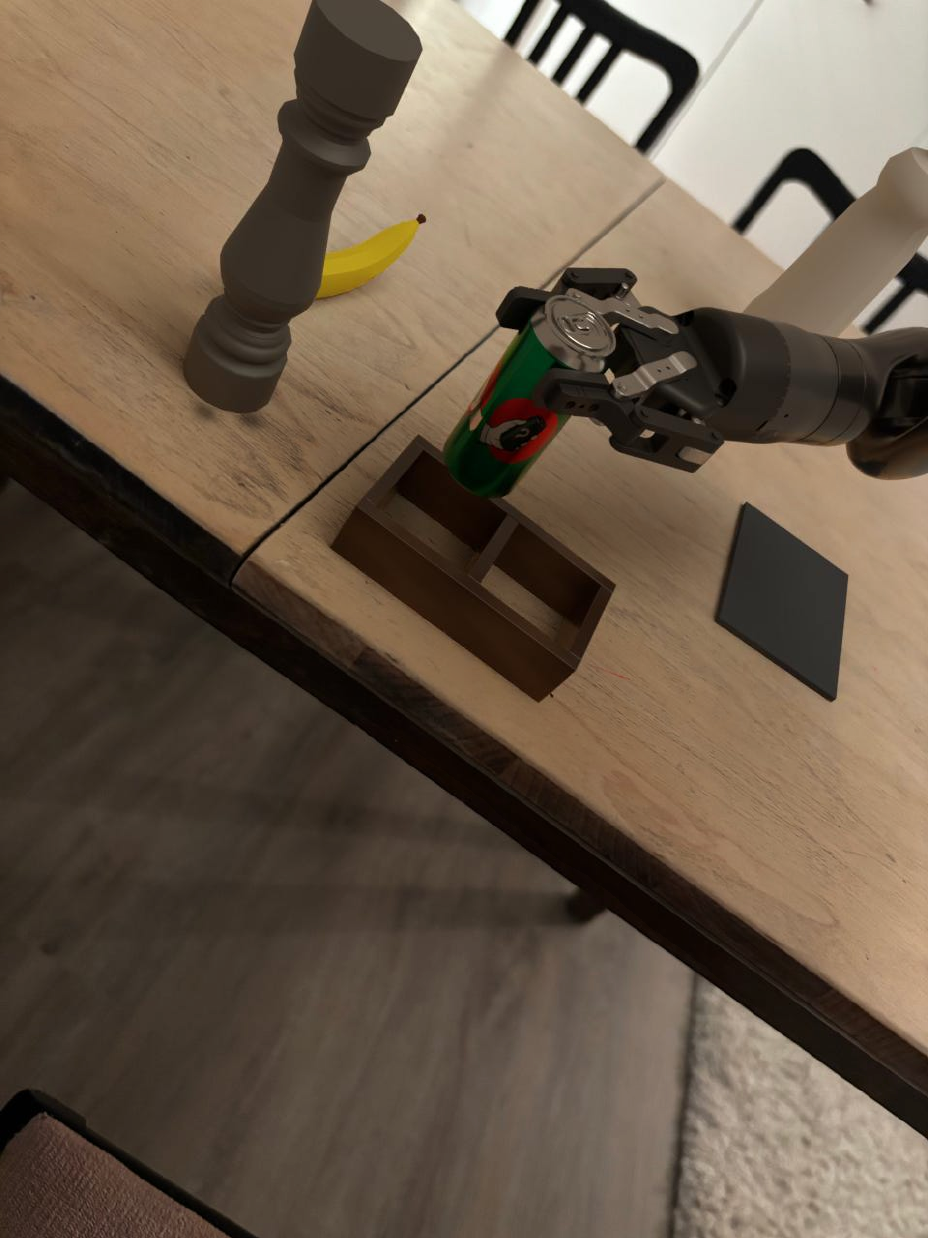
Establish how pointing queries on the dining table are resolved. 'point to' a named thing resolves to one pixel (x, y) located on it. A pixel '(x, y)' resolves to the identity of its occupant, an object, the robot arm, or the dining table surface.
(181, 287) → the dining table surface
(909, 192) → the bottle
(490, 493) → the soda can
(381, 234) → the banana
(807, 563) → the table mat
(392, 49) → the candle holder
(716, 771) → the dining table surface
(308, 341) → the dining table surface
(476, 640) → the can rack
